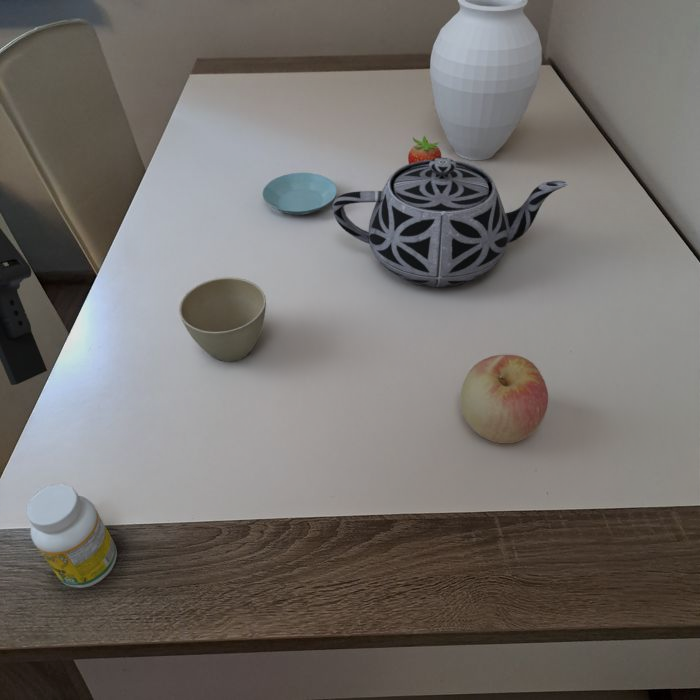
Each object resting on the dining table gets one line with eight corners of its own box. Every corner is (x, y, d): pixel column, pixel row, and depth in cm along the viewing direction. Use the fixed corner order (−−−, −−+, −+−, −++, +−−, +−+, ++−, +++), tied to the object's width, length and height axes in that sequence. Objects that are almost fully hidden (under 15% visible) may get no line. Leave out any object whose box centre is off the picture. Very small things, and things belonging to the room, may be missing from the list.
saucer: (351, 198, 105) (351, 185, 103) (305, 231, 98) (304, 218, 97) (296, 178, 110) (295, 165, 109) (249, 208, 103) (247, 195, 102)
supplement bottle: (128, 563, 59) (97, 504, 53) (73, 602, 57) (34, 546, 50) (101, 525, 62) (68, 465, 56) (47, 561, 60) (6, 503, 53)
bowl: (179, 372, 77) (165, 327, 72) (207, 317, 84) (196, 273, 79) (259, 381, 76) (251, 336, 71) (281, 325, 83) (275, 280, 78)
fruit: (439, 175, 110) (442, 130, 104) (439, 190, 106) (443, 144, 100) (407, 174, 110) (409, 129, 104) (406, 190, 106) (408, 144, 101)
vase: (489, 121, 124) (507, -25, 107) (546, 161, 112) (577, 3, 95) (407, 141, 119) (413, -9, 102) (458, 184, 107) (474, 23, 90)
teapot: (565, 300, 85) (592, 199, 74) (332, 301, 86) (326, 202, 75) (538, 221, 98) (557, 127, 88) (337, 223, 100) (333, 130, 89)
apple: (523, 390, 73) (535, 338, 68) (551, 451, 67) (567, 400, 61) (448, 399, 73) (454, 347, 67) (470, 463, 66) (478, 411, 61)
